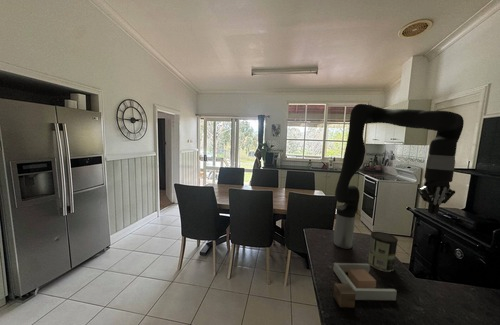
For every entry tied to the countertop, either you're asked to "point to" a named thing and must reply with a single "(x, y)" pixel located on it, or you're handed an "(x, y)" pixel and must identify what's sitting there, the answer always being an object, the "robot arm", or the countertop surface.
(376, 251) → the coffee can
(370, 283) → the brown rectangular block
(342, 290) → the walnut block
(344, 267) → the tray
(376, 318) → the countertop surface
